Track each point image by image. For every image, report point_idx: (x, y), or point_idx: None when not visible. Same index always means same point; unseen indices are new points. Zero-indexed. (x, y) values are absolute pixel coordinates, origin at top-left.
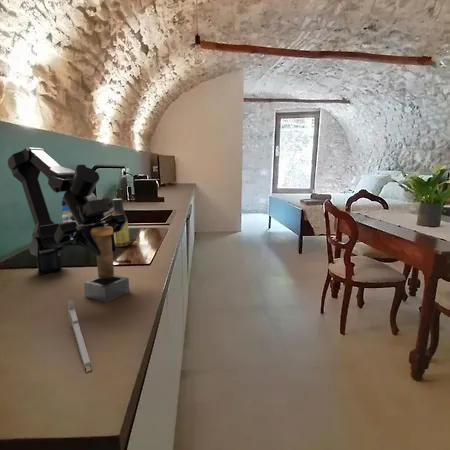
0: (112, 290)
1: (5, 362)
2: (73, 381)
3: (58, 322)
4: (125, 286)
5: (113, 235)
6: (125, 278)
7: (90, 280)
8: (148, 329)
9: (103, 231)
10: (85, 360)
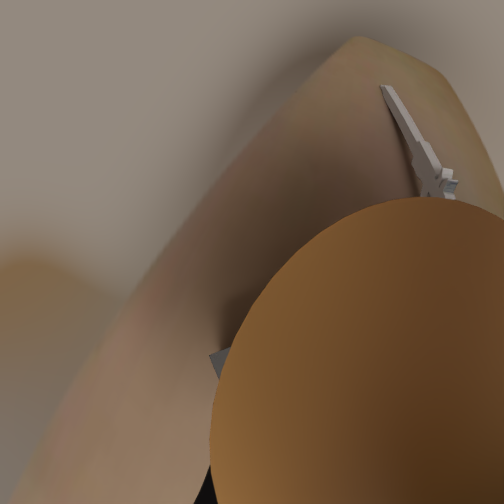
0: None
1: (494, 170)
2: (400, 85)
3: None
4: None
5: (204, 492)
6: (223, 358)
7: None
8: (271, 119)
9: (451, 216)
10: (390, 88)
